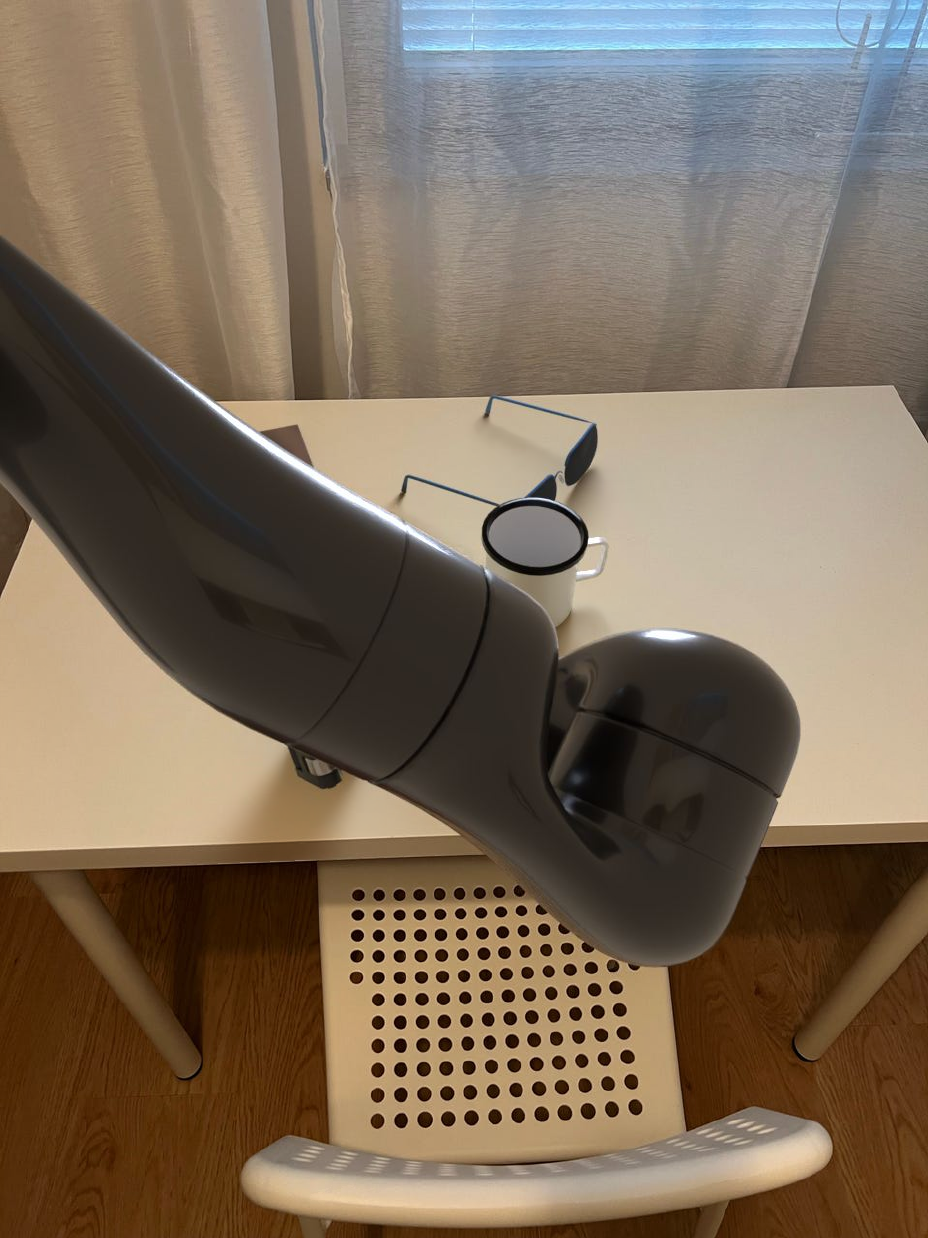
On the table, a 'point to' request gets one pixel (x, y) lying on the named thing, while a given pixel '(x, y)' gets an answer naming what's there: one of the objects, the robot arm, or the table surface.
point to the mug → (540, 550)
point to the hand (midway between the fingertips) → (378, 701)
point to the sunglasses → (547, 488)
